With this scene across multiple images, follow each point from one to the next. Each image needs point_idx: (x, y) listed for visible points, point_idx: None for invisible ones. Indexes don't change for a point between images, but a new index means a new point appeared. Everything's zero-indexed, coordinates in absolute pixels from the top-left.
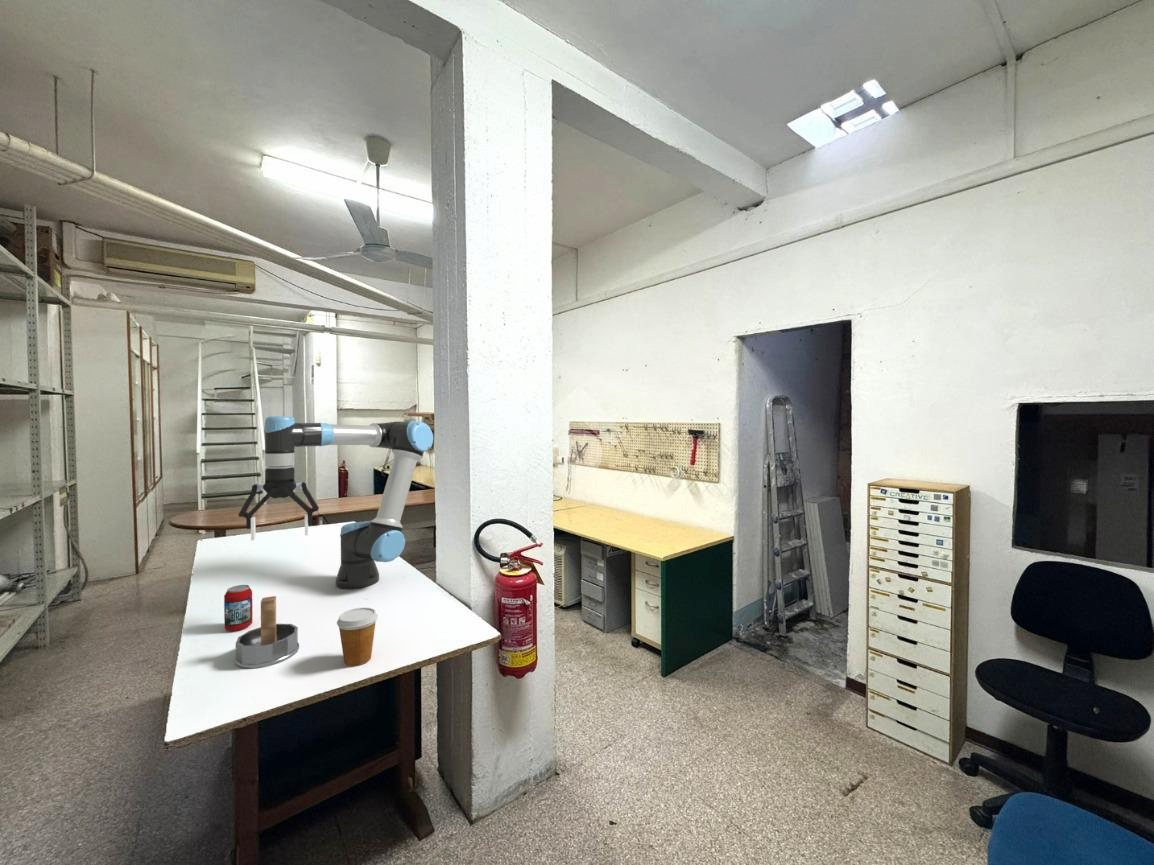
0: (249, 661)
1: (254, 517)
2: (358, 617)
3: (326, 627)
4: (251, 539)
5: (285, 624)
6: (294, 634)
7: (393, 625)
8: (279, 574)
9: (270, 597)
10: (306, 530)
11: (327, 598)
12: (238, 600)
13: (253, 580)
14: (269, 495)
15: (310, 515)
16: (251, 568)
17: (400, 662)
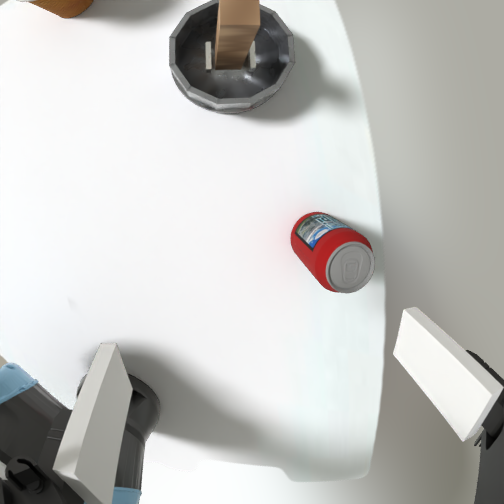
0: None
1: (476, 420)
2: None
3: (124, 158)
4: (416, 310)
5: (200, 91)
6: (173, 32)
7: (9, 128)
8: (274, 459)
9: (235, 18)
10: (97, 364)
11: (155, 339)
12: (337, 228)
13: (311, 444)
14: None
15: (47, 461)
16: (316, 475)
17: None
